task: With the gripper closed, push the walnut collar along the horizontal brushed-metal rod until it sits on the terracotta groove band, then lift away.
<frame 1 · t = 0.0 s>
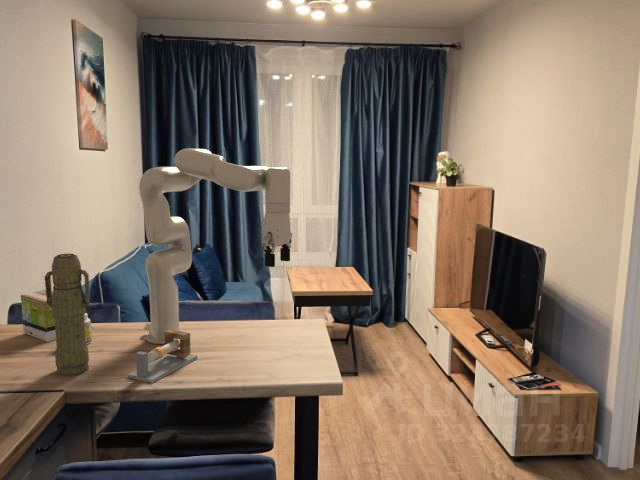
hand: (277, 263, 162), 31 cm above the table, tool pointing down, fingers open, 9 cm apart
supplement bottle: (82, 343, 179), on the table
thermos: (72, 370, 157), on the table
tea box: (48, 335, 188), on the table
collar: (176, 343, 164), point 6 cm above the table, slide at 0.0 cm
pipe stand: (165, 366, 160), on the table
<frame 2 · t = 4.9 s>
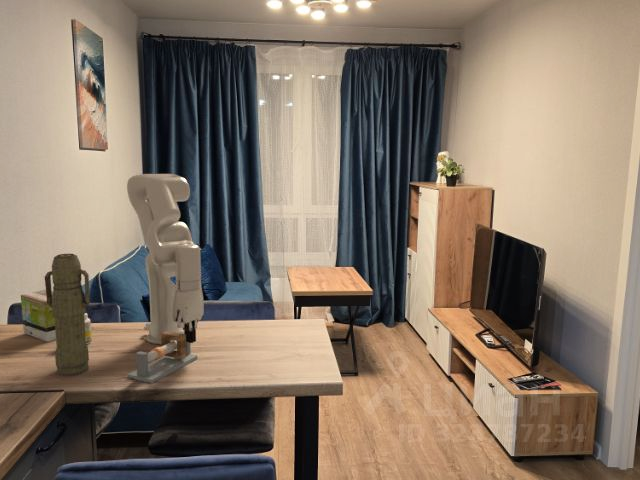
hand: (190, 341, 164), 6 cm above the table, tool pointing down, fingers closed
collar: (173, 344, 163), point 6 cm above the table, slide at 1.5 cm, touching gripper
everything else where it was.
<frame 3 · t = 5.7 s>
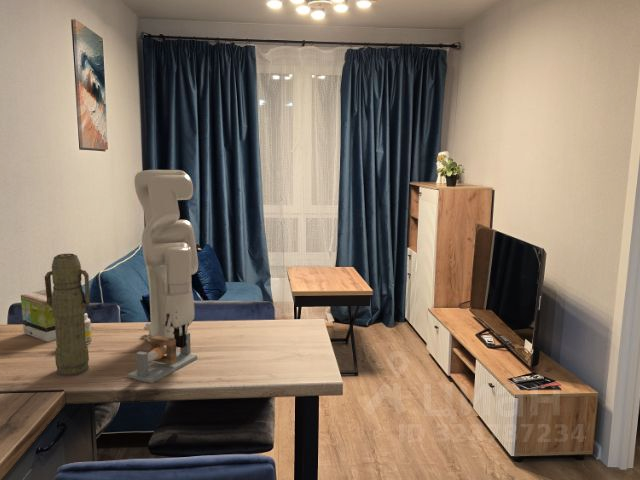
hand: (180, 346, 160), 6 cm above the table, tool pointing down, fingers closed
collar: (163, 349, 159), point 6 cm above the table, slide at 6.2 cm, touching gripper
everything else where it was.
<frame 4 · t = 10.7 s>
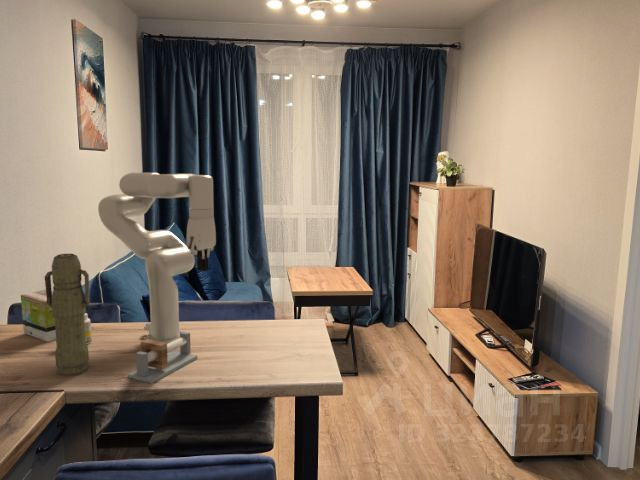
hand: (202, 270, 170), 27 cm above the table, tool pointing down, fingers closed
collar: (154, 354, 155), point 6 cm above the table, slide at 10.1 cm
everything else where it was.
at the end: collar slide at 10.1 cm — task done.
